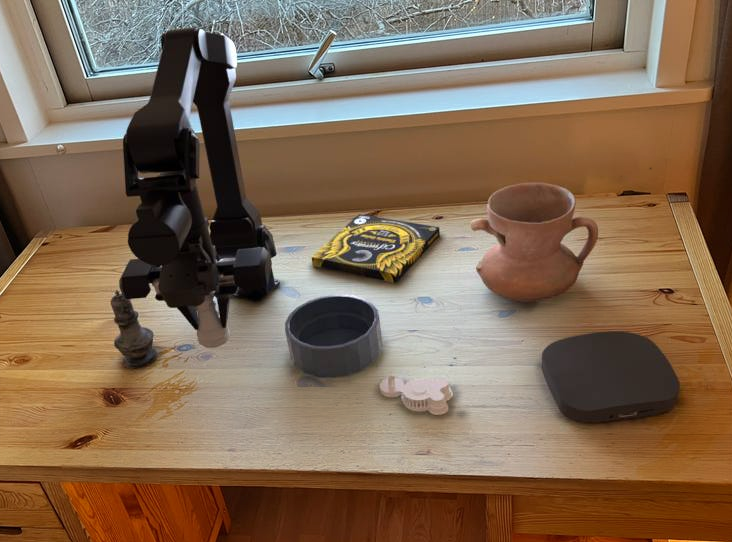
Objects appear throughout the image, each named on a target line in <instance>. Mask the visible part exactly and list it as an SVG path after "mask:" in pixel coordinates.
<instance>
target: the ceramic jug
mask: <svg viewBox="0 0 732 542" xmlns="http://www.w3.org/2000/svg"><path fill="white" fill-rule="evenodd" d="M576 202H577V201H576V197H575V195H574V194H573V193H572V192H571V191H570V190H569V189H566V188H565V187H561V185H560V186H559V185H556V184H550V183H546V182H521V183H516V184H511V185H508V186H505V187H503V188H500V189H498V190H496V191H495V192H493V193H492V194H491V195H490V196H489V198H488V199H487V206H486V210H487V217H488V219H487V218H477V219H474V220H472V221H471V222H470V229H471V230H472V231H473V232H477V231H484V232H486V233H487V234H489V235H492V236H494V237H495V239H496V241H497V244H495V245H494V246H492V247H491V248H490V249H489V250H487V251H486V253H485V254H484V256H483V257H482V259H481V261H478V263H477V264H476V266H475V270H476V273H477V274H478V275H479V277H480V279H481V281H482V283H483V284H484V285H485V287H486V288H487V289H488V290H489V291H490V292H492V293H493V294H495V295H497V296H499V297H502V298H503V299H506V300H510V301H515V302H523V303H524V302H525V303H526V302H527V303H528V302H529V303H531V302H532V303H533V302H541V301H547V300H550V299H554V298H555V297H558V296H560V295H562V294H564V293H566V292H567V291H568V290H570V289H571V288H572V287H573V286H574V284H575V283H576V281H577V280H578V277H579V274H580V271H581V270H582V268H583V265H584V264H585V263H584V262H585V261H586V259H587V258H588V256H589V255H590V254H591V252H592V251H593V249H594V248H595V246H596V243H597V242H598V238H599V227H598V224H597V223H596V221H595V220H594V219H592V218H590V217H589V216H581V215H580V216H576V217H574V213H575V211H576ZM573 217H574V218H573ZM583 227H585V228H586V229H587V239H586V241H585V243H584V245H583V247H582V249H581V250H580V252H579V253H578V254H577V256H576V254H575V253H574V252H573V251H572V249H570V248H569V247H568V246H566V245H565V244H564V243H562V241H563V240H564V237H566V235H567V234H569V233H571V232H572V231H574V230H576V229H579V228H583Z"/></svg>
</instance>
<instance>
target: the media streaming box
mask: <svg viewBox="0 0 732 542" xmlns="http://www.w3.org/2000/svg"><path fill="white" fill-rule="evenodd" d="M540 366H541V371H542V374H543V377H544V380H545V382H546V384H547V387H548V389H549V392H550V393H551V396H552V397H553V400H554V401H555V403H556V405H557V407H558V409H559V411H560V412H561V413H562V414H563V415H565V416H566V417H567V418H569V419H571V420H575V421H578V422H581V423H590V424H592V423H602V422H604V423H605V422H611V421H612V422H613V421H620V420H628V419H634V418H635V419H636V418H642V417H648V416H654V415H660V414H664V413H666V412H669V411H670V410H672V409H673V408H674V407H676V405H677V402H678V399H679V393H680V388H681V384H680V380H679V378H678V376H677V374H676V372H675V370H674V368H673V366H672V365H671V363H670V361H669V359H668V358H667V357H666V355H665V354H664V353H663V351H662V350H661V349H660V347H658V345H657V344H656V343H655V342H654V341H653V340H651V339H650V338H648V337H646V336H644V335H641V334H639V333H634V332H629V331H622V330H619V331H618V330H617V331H615V330H614V331H612V330H611V331H599V332H598V331H597V332H589V333H583V334H577V335H573V336H569V337H564V338H561V339H558V340H555V341H553V342H551V343H550V344H548V345H547V346H546V347H545V348H544V349H543V351H542V352H541V365H540Z"/></svg>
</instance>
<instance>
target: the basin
mask: <svg viewBox="0 0 732 542" xmlns="http://www.w3.org/2000/svg"><path fill="white" fill-rule="evenodd" d="M379 314H380V313H379V309H378V308H377V307H376V306H375V304H374V303H373V302H371V301H370V300H368V299H365V298H364V297H362V296H357V295H353V294H337V293H336V294H329V295H323V296H319V297H316V298H313V299H309V300H307V301H305V302H304V303H302V304H300V305H299V306H297V307H296V308H294V309H293V310H292V311H291V312H290V313H289V314H288V315H287V316H288V317H287V318H286V320H285V322H284V332H285V338H286V342H287V347H288V348H287V349H288V351H289V356H290V361H291V362H292V363H293V365H294V367H295V368H296V369H298V370H299V371H300V372H302V373H303V374H305V375H309V376H312V377H315V378H320V379H321V378H322V379H337V378H344V377H349V376H351V375H354V374H358V373H361V372H362V371H364V370H365V369H367V368H368V367H370V366H372V365H373V364H374V363H375V362H376V361H377V359H378V358H379V357H380V355H381V353H382V351H383V347H384V345H383V337H382V329H381V319H380V315H379Z"/></svg>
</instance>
